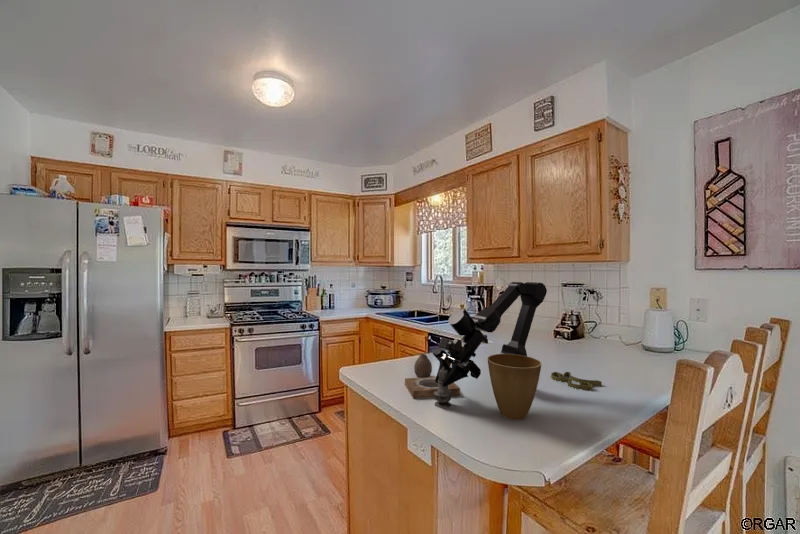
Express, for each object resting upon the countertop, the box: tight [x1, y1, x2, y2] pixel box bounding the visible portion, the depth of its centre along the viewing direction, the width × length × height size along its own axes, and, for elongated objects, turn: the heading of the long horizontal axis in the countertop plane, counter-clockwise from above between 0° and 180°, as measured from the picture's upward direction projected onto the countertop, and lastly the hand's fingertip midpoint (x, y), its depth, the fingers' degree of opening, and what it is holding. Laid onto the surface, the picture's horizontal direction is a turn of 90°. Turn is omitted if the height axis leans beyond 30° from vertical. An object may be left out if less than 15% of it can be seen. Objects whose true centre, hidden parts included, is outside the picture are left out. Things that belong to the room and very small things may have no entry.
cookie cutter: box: [550, 371, 603, 392], centre depth 132 cm, size 18×12×2 cm, turn 29°
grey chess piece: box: [434, 366, 453, 409], centre depth 109 cm, size 6×6×12 cm
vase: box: [413, 353, 433, 378], centre depth 136 cm, size 7×7×9 cm
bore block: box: [404, 376, 461, 399], centre depth 121 cm, size 16×13×2 cm
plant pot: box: [487, 353, 543, 421], centre depth 102 cm, size 15×15×16 cm
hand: (439, 384), depth 108 cm, fingers closed on grey chess piece, 4 cm apart
